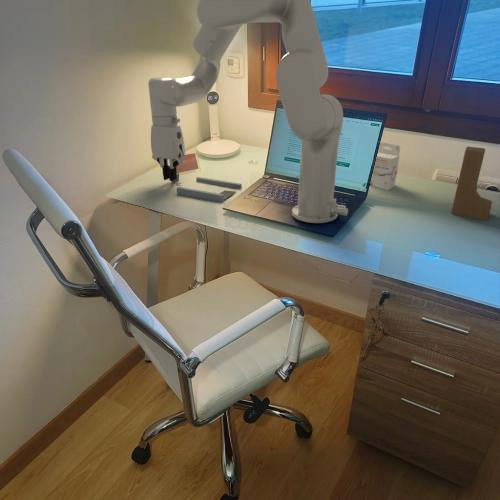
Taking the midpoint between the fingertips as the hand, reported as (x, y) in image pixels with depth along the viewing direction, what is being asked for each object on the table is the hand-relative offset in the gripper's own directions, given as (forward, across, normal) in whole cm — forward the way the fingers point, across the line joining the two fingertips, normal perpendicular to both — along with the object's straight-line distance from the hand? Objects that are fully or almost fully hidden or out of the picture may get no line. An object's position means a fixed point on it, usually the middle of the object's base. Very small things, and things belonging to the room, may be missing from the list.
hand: (170, 179), depth 142 cm
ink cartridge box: (+3, -62, -24) cm, 66 cm away
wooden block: (+3, -88, -15) cm, 89 cm away
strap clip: (+3, 0, -2) cm, 4 cm away
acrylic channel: (+2, -15, 0) cm, 15 cm away
